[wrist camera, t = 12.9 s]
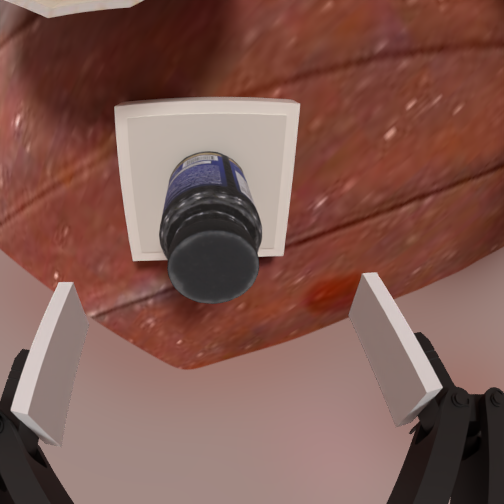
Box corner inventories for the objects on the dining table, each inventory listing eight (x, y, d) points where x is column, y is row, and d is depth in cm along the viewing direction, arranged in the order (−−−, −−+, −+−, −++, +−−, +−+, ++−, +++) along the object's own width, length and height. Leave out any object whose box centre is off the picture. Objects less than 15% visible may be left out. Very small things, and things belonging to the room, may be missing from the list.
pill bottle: (160, 207, 25) (140, 299, 16) (183, 138, 22) (170, 199, 13) (229, 227, 27) (245, 322, 18) (258, 164, 25) (294, 238, 16)
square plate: (122, 102, 22) (113, 106, 20) (291, 99, 24) (300, 104, 22) (137, 246, 30) (132, 261, 28) (277, 241, 32) (283, 256, 30)
